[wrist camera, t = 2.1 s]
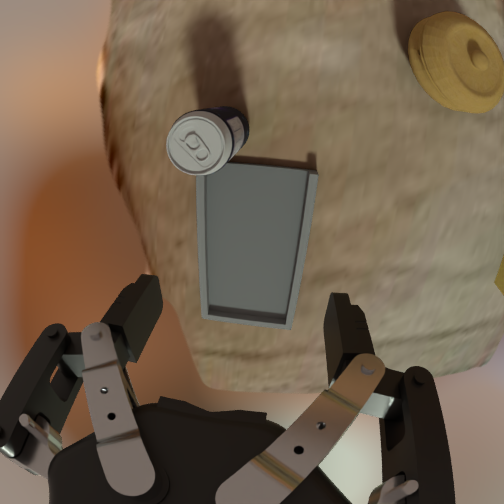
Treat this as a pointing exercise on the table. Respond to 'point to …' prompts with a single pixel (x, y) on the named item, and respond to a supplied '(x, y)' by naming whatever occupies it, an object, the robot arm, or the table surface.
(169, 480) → the robot arm
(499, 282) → the pasta box
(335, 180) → the table surface
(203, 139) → the beverage can
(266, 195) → the gray tray
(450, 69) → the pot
